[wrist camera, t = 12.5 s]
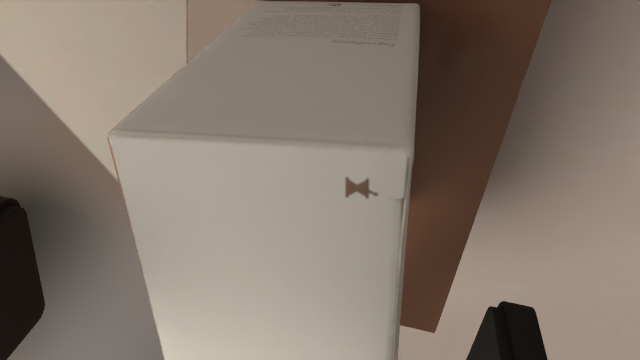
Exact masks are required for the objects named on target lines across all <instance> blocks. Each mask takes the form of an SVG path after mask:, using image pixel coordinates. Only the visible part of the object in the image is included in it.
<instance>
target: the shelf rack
mask: <svg viewBox="0 0 640 360" xmlns="http://www.w3.org/2000/svg"><path fill="white" fill-rule="evenodd" d="M258 1H309V2H361V3H417V4H419V6H420V34H419V62H418V82H417V99H416V119H415V139H414V161H413V166H412V174H411V187H410V199H409V212H408V224H407V237H406V250H405V263H404V276H403V289H402V302H401V316H400V325H402V326H406V327H411V328H415V329H420V330H424V331H428V332H433V333H435V331H436V328H437V325H438V322H439V320H440V317H441V314H442V311H443V308H444V305H445V302H446V300H447V297H448V294H449V291H450V288H451V285H452V282H453V280H454V277H455V274H456V271H457V268H458V265H459V262H460V260H461V257H462V254H463V251H464V248H465V245H466V242H467V240H468V237H469V234H470V231H471V228H472V225H473V222H474V220H475V217H476V214H477V211H478V208H479V205H480V202H481V200H482V197H483V194H484V191H485V188H486V185H487V182H488V180H489V177H490V174H491V171H492V168H493V165H494V162H495V160H496V157H497V154H498V151H499V148H500V145H501V142H502V140H503V137H504V134H505V131H506V128H507V125H508V122H509V120H510V117H511V114H512V111H513V108H514V105H515V102H516V100H517V97H518V94H519V91H520V88H521V85H522V82H523V80H524V77H525V74H526V71H527V68H528V65H529V62H530V60H531V57H532V54H533V51H534V48H535V45H536V42H537V40H538V37H539V34H540V31H541V28H542V25H543V23H544V20H545V17H546V14H547V11H548V8H549V5H550V3H551V0H187V63H188V62H189V61H190V60H192V59H193V58H194V57H195V56H196V55H197V54H198V53H199V52H201V51H202V50H203V49H204V48H205V47H206V46H207V45H209V44H210V43H211V42H212V41H213V40H214V39H215V38H217V37H218V36H219V35H220V34H221V33H222V32H223V31H224V30H225V29H227V28H228V27H229V26H230V25H231V24H233V23H234V22H235V21H236V20H237V19H238V18H239V17H241V16H242V15H243V14H244V13H245V12H246V11H247V10H249V9H250V8H251V7H252V6H253V5H254V4H256V3H257V2H258Z"/></svg>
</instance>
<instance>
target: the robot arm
mask: <svg viewBox="0 0 640 360" xmlns="http://www.w3.org/2000/svg"><path fill="white" fill-rule="evenodd" d="M44 306H45V302H44V297H43V292H42V286H41V282H40V277H39V272H38V267H37V262H36V257H35V252H34V248H33V242H32V238H31V233H30V228H29V223H28V218H27V214H26V211H25V210H24V209H23V208H21V207H20V204H19V202H17V200H15V199H12V198H7V197H2V196H0V360H7V358H8V357H9V356H10V355H11V354H12V352H13V351H14V350H15V349H16V348H17V346H18V345H19V344H20V343H21V341H22V340H23V339H24V338H25V337H26V335H27V334H28V333H29V332H30V330H31V329H32V328H33V327H34V326H35V324H36V323H37V322H38V321H39V319H40V318H41V316H42V314H43V311H44ZM466 360H547V356H546V352H545V348H544V344H543V340H542V336H541V332H540V328H539V324H538V320H537V316H536V312H535V310H534V309H533V308H532V307H529V306H524V305H519V304H514V303H509V302H505V301H502V302H501V303H499V305H498V307H497V308H496V307H489V308H488V310H487V311H486V314H485V316H484V319H483V321H482V323H481V326H480V328H479V331H478V333H477V335H476V338H475V340H474V343H473V345H472V347H471V350H470V352H469V355H468V357H467V359H466Z"/></svg>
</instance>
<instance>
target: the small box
mask: <svg viewBox="0 0 640 360" xmlns="http://www.w3.org/2000/svg"><path fill="white" fill-rule="evenodd" d="M419 34H420V6H419V4H417V3H361V2H309V1H258V2H257V3H256V4H254V5H253V6H252V7H251V8H250V9H249V10H247V11H246V12H245V13H244V14H243V15H242V16H241V17H239V18H238V19H237V20H236V21H235V22H234V23H233V24H231V25H230V26H229V27H228V28H227V29H225V30H224V31H223V32H222V33H221V34H220V35H219V36H218V37H217V38H215V39H214V40H213V41H212V42H211V43H210V44H209V45H207V46H206V47H205V48H204V49H203V50H202V51H201V52H199V53H198V54H197V55H196V56H195V57H194V58H193V59H192V60H190V61H189V62H188V63H187V64H186V65H185V66H184V67H182V68H181V69H180V70H179V71H178V72H177V73H175V74H174V75H173V76H172V77H171V78H170V79H169V80H168V81H166V82H165V83H164V84H163V85H161V86H160V87H159V88H158V89H157V90H156V91H155V92H154V93H152V94H151V95H150V96H149V97H148V98H147V99H146V100H145V101H144V102H143V103H142V104H140V105H139V106H138V107H137V108H136V109H134V110H133V111H132V112H131V113H130V114H129V115H128V116H127V117H125V118H124V119H123V120H122V121H121V122H120V123H119V124H118V125H117V126H116V127H114V128H113V129H112V130H111V131H110V132H109V133H108V135H107V139H108V142H109V146H110V149H111V153H112V157H113V161H114V165H115V169H116V172H117V176H118V180H119V184H120V188H121V192H122V196H123V200H124V204H125V208H126V212H127V216H128V219H129V223H130V227H131V231H132V234H133V239H134V243H135V247H136V250H137V254H138V258H139V262H140V266H141V270H142V274H143V277H144V281H145V285H146V289H147V293H148V298H149V302H150V305H151V309H152V313H153V317H154V321H155V324H156V328H157V332H158V336H159V340H160V345H161V349H162V353H163V357H164V360H398V347H399V331H400V316H401V302H402V289H403V276H404V263H405V250H406V237H407V224H408V212H409V199H410V187H411V174H412V166H413V161H414V139H415V119H416V99H417V82H418V62H419Z"/></svg>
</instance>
